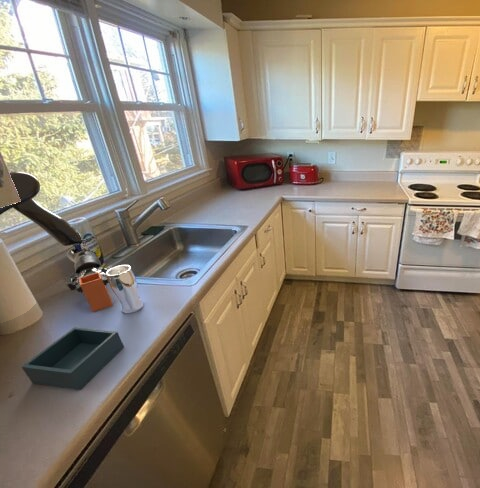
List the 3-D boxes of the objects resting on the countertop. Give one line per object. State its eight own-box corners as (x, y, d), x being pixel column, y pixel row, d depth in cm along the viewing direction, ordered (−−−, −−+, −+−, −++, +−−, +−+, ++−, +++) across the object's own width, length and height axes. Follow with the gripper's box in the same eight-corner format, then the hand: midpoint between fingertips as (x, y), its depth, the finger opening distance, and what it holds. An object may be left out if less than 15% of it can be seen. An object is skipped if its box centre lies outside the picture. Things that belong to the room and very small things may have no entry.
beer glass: (119, 316, 91) (102, 277, 85) (123, 304, 97) (108, 267, 90) (143, 311, 94) (129, 272, 87) (146, 299, 99) (133, 262, 93)
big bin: (32, 383, 69) (20, 366, 67) (82, 342, 81) (74, 327, 79) (80, 389, 67) (70, 373, 65) (124, 347, 79) (117, 331, 77)
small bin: (93, 312, 93) (80, 284, 89) (91, 304, 97) (78, 277, 92) (113, 305, 97) (101, 278, 92) (110, 297, 100) (99, 271, 96)
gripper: (58, 264, 97) (59, 285, 85) (108, 251, 105) (115, 268, 94) (67, 283, 100) (69, 305, 89) (115, 269, 109) (122, 287, 97)
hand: (93, 286), depth 91 cm, fingers closed on small bin, 5 cm apart
